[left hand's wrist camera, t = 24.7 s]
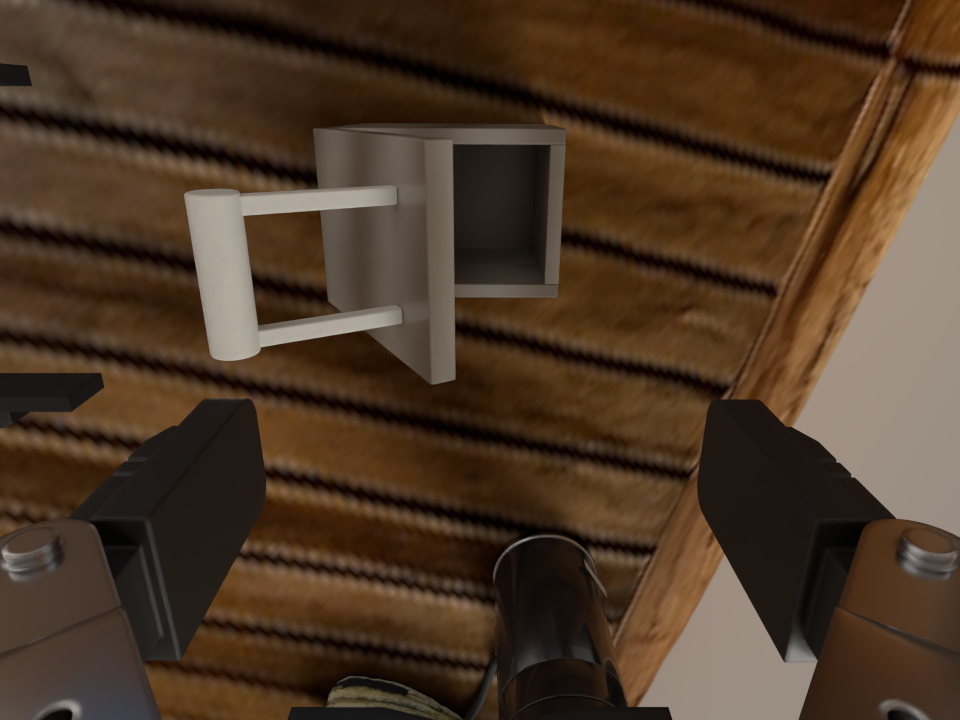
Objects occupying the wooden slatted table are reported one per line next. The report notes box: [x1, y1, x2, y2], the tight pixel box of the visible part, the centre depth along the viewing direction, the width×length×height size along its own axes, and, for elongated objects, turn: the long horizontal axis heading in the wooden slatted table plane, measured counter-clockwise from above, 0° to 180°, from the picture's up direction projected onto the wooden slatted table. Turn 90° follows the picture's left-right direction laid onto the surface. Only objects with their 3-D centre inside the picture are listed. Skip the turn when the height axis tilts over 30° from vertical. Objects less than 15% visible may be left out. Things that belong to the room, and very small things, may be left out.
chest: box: [328, 123, 566, 298], centre depth 41 cm, size 13×10×11 cm
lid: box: [184, 128, 456, 385], centre depth 28 cm, size 14×10×9 cm
